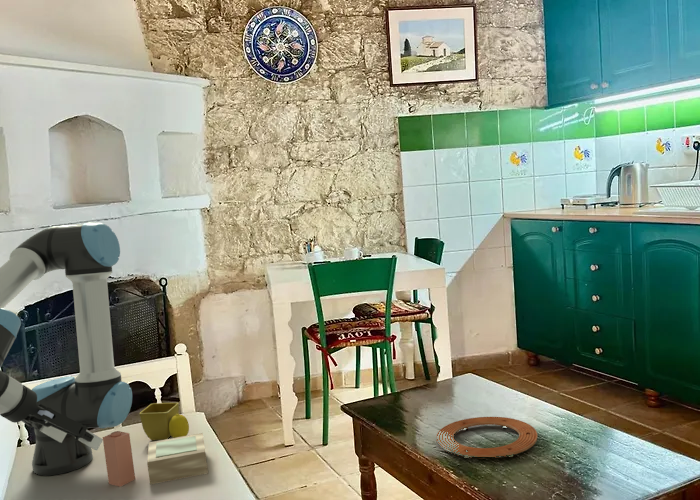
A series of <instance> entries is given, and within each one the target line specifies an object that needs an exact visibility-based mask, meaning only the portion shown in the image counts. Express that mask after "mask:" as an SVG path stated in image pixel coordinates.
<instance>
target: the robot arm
mask: <svg viewBox="0 0 700 500" xmlns="http://www.w3.org/2000/svg"><path fill="white" fill-rule="evenodd" d="M120 256H121V247H120V242H119V239H118V236H117V234H116V233H115V232H114V231H113V230H112V228H111V227H110V226H109V225H107V224H105V223H103V222H86V223H78V224H69V225H68V224H66V225H54V226H50V227H48V228H44V229H42V230H41V231H38V232H36V233H35V234H33V235H32V236H30V237H29V238H27V239H26V240H25V241H22V243H20V244H19V245H18V246H17V247H16V248H15V249H13V250H12V251H11V252H10V255H9V259H8V260H7V261H6V262H5V263H4V264H3V265H2V266H0V417H2V418H4V419H6V420H7V421H10V422H11V423H16V424H17V423H19V422H22V423H24V424H25V425H26V426H27V427H28V428H33V429H34V430H33V431H34V435H35V447H34V452H33V457H32V461H31V462H32V463H31V466H32V472H33V471H34V472H33V473H34V474H35V473H36V475H37V474H38V475H37V476H42V477H43V476H45V477H47V476H56V475H62V474H66V473H69V472H72V471H75V470H78V469H80V468H82V467H84V466H86V465H88V464H90V462H91V461H92V460H93V459H94V457H93V450H95V451H98V450H99V448H100V446H101V444H102V443H103V438H101V437H100V436H98V435H97V434H95V433H94V432H92V431H90V430H88V429H89V428H90V429H91V428H92V429H93V428H94V429H98V428H99V429H106V428H114V427H117V426H120V425H121V424H123V422H125V420H126V418H127V417H128V416H129V413H130V412H131V407H132V404H133V391H132V387H130V385H129V383H127V382H125V381H123V380H122V373H121V371H119V370H118V369H117V368H115V360H114V347H113V337H112V335H113V334H112V324H111V313H110V299H109V289H108V288H109V287H108V279H109V277H110V276H111V275H112V274H113V266H114V265H116V264H118V262H119V260H120V258H119V257H120ZM57 270H64V273H65V278H67V279H68V280H70V281H71V283H72V294H73V301H74V302H73V303H74V305H73V306H74V314H75V315H74V316H75V328H76V337H77V338H76V339H77V349H78V350H77V351H78V361H79V362H78V363H79V364H78V365H79V373H78V375H77V376H72V375H71V376H70V375H69V376H64V377H60V378H53V379H51V380H48V381H45V382H42V383H40V384H37V385H36V386H34V387H33V388H32V389H30V388H29V387H27V385H24V384H22V383H21V382H20V381H19V380H17V379H15V378H13V377H12V376H10V375H9V374H7V373H5V372H4V371H2V370H1V368H2V366H3V363H5V359H6V358H7V356H8V354H9V352H10V349H11V348H12V346H13V344H14V342H15V340H16V339H17V335H18V334H19V331H20V327H21V325H22V321H21V318H20V317H19V315H17V314H16V313H14V312H13V311H11V310H9V309H7V308H6V306H7V305H9V304H10V302H12V301H13V300H14V299H15V298H16V297H17V296H18V295H19V294H20V293H21V292H22V291H23V290H24V289H25V288H26V287H27V286H28V285H29V284H30V283H32V282H33V281H36V280H39V279H42V277H43V276H44V275H45V274H47V273H50V272H54V271H57Z"/></svg>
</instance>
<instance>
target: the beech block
mask: <svg viewBox="0 0 700 500" xmlns="http://www.w3.org/2000/svg"><path fill="white" fill-rule="evenodd" d="M147 449H148V450H147V471H148V480H149V485H155V484H159V483H164V482H165V483H166V482H171V481H175V480H176V481H177V480H180V479H186V478H191V477H196V476H201V475H206V474H207V475H208V474H209V472H208V463H207V456H206V453H207V452H206V447H205V440H204V433H203V432H200V433H194V434H189V435H188V434H187V436H182V437H177V438H173V437H170V438H169V439H165V440H153V441H150V442H148V447H147Z"/></svg>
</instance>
